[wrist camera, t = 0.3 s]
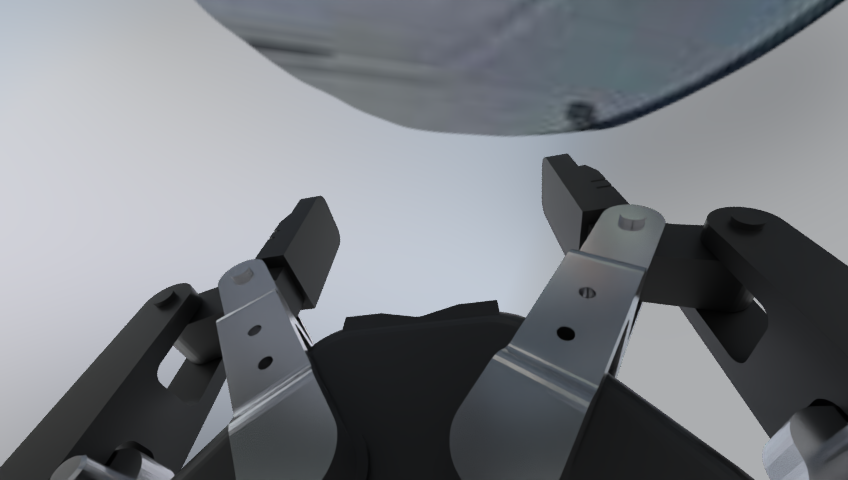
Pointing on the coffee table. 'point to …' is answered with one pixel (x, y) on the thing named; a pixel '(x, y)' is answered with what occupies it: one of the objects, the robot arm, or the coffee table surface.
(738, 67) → the coffee table surface
